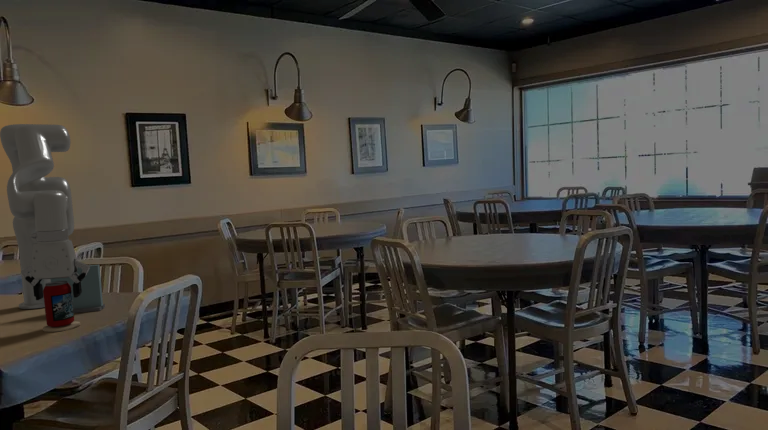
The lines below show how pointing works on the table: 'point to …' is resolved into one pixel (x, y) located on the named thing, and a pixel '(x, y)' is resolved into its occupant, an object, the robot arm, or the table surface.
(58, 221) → the robot arm
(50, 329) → the coaster
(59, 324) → the beverage can
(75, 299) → the screen
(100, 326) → the table surface
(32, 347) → the table surface
